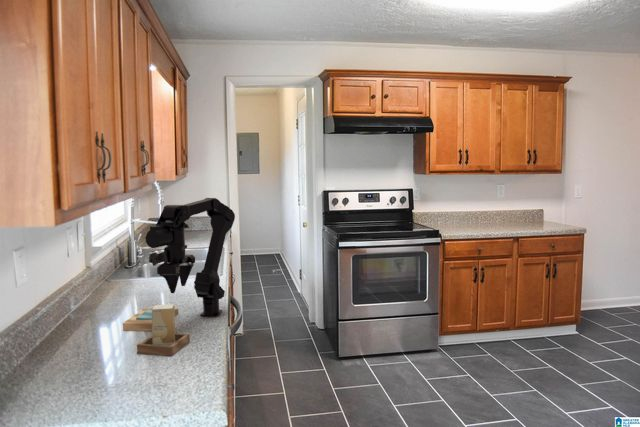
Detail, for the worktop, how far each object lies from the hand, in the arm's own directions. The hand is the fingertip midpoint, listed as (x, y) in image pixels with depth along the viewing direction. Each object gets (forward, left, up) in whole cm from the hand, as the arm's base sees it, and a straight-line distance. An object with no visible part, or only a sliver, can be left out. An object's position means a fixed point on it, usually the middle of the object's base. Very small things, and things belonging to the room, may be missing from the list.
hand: (178, 289), depth 170 cm
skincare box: (+18, +2, -13) cm, 22 cm away
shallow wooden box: (-5, -12, -13) cm, 18 cm away
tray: (+18, +2, -13) cm, 22 cm away
